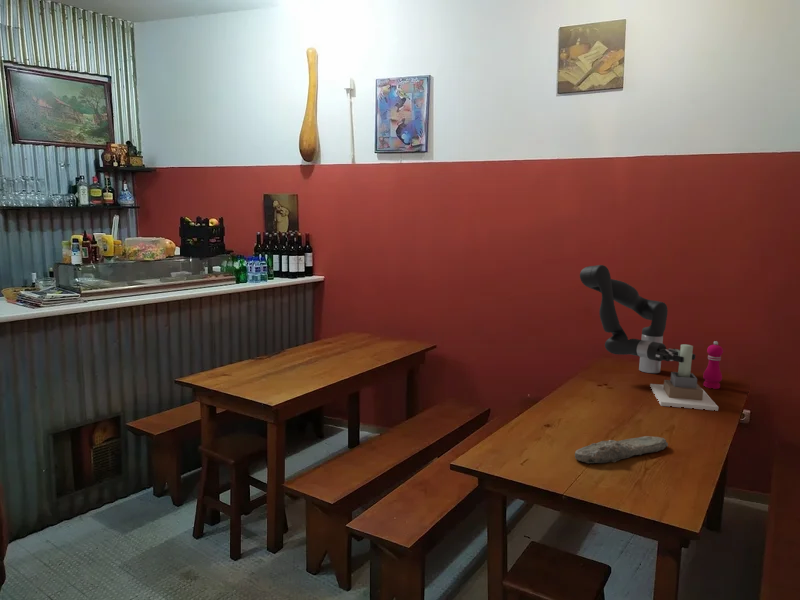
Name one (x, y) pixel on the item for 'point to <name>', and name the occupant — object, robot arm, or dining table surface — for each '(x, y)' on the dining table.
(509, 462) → the dining table surface
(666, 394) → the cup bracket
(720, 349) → the pepper mill
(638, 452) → the elongated rock
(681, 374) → the green dowel
